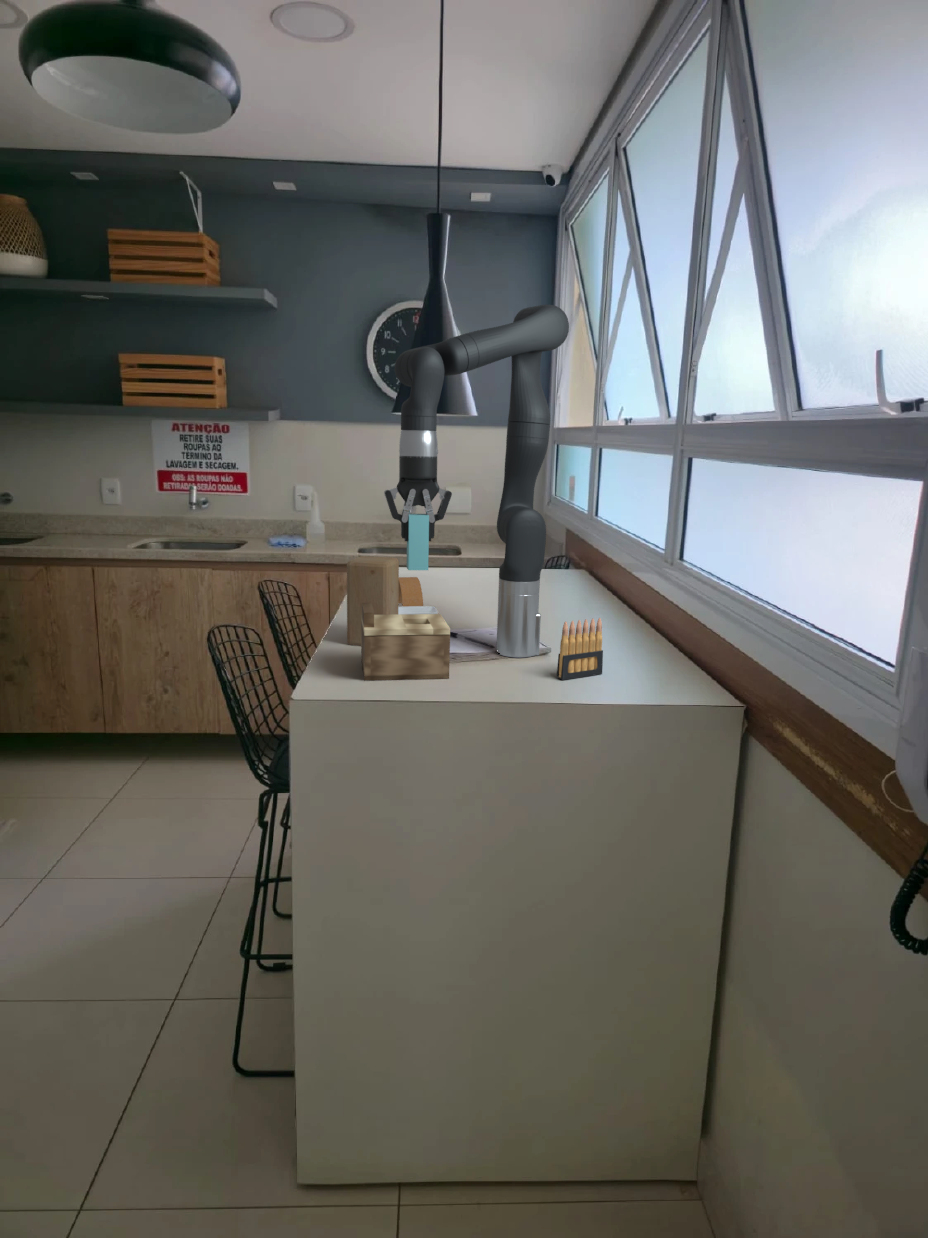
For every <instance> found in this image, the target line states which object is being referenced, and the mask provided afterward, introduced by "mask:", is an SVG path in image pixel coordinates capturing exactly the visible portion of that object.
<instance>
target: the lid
mask: <svg viewBox="0 0 928 1238" xmlns="http://www.w3.org/2000/svg"><path fill="white" fill-rule="evenodd" d="M361 621H362V626H363V631H364V636H378V635H445V634H450V635H451V627H450V626H449V625H448V623H447V622H446V620H445V618H444V617H443V615H442V614H441V613H439V614H393V615H374V610H373V607H372V603H362V615H361Z"/></svg>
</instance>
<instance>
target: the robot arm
mask: <svg viewBox="0 0 928 1238" xmlns="http://www.w3.org/2000/svg"><path fill="white" fill-rule="evenodd" d="M569 330H570V322H569V319H568V316H567V314H566V313H565V311H564V310H563V309H562V308H561V307H559V306H557V305H554V304H542V305H536V306H535V305H534V306H529V307H525V308H522V309H521V310H520V311H518V312H517V314H516V315H515V316H514V317H513V322H511V323H507V324H503V325H499V326H494V327H489V328H484V329H483V328H482V329H478V330H474V331H470V332H467V333H463V334H460V335H456V336H453V337H450V338H447V339H445V340H443V341H439V342H437V343H433V344H427V345H422V346H419V347H414V348H410V349H407V350H405V351H403V352H402V353H401V354H400V355H399V356H398V357H397V358H396V360H395V362H394V363H395V364H394V373H395V377H396V378H397V379H398V381H399V382H400V383H401V384H402V385H404V386H407V387H410V393H409V397H408V398H407V399H406V400H404V401H403V402H402V404H401V409H400V437H399V444H398V445H399V449H398V452H399V455H398V457H399V458H398V459H399V463H398V464H399V466H398V467H399V470H398V472H399V474H398V483H397V485H396V486H395V487H394V488H390V489H385V490H384V492H383V494H384V497H385V501H386V503H387V506H388V508H389V509H388V510H389V511H390V515H391V516H392V517H391V518H392V519H394V520H397V521H400V536H401V539H404V542H407V541H408V517H409V514H411V510H412V508H413V507H417V506H421V507H424V510H425V514H427V515H429V542H432V539H434V538H435V524H436V522H437V521H440V520H443V519H444V518H445V515H446V512H447V509H448V506H449V504H450V501H451V498H452V495H453V493H452V492H451V491H450V490H446V489H443V488H440V486H439V482H438V454H439V449H438V448H439V447H438V437H437V436H438V434H437V420H438V419H437V418H438V415H437V410H438V406H439V404H440V398H441V393H442V389H443V385H444V380H445V377H449V376H455V375H461V374H464V373H467V372H471V371H473V370H476V369H479V368H482V367H484V366H487V365H490V364H493V363H496V362H498V361H501V360H504V359H506V358H510V357H511V379H510V380H511V381H510V395H509V409H508V415H507V416H508V418H507V427H506V429H507V430H506V440H505V441H506V442H505V443H506V444H505V445H506V446H505V456H504V457H505V458H504V471H503V472H504V476H503V477H504V478H503V488H502V492H501V493H502V494H501V498H500V504H499V509H498V513H497V520H496V532H497V535H498V536H499V539H500V540H501V541H502V542H503V543H504V544H505V549H504V559H503V562H502V564H500V566H499V570H498V592H497V593H498V594H497V596H498V597H497V598H498V599H497V620H496V621H497V624H496V628H497V629H496V643H495V644H496V647H495V648H496V649H497V650H498V652H499V653H500V654H499V655H500V656H504V657H509V658H530V657H533V656H539V655H540V641H541V624H542V623H541V620H542V619H541V618H542V615H541V613H540V612H539V607H540V585H541V584H540V581H541V572H542V570H543V567H544V563H545V552H546V541H547V526H546V520H545V518H544V517H543V515H542V514H541V512H539V511H538V510H535V509H534V501H535V500H534V497H535V496H534V495H535V487H536V482H537V479H538V475H539V473H540V471H541V468H542V465H543V463H544V460H545V457H546V455H547V451H548V446H549V442H550V441H549V439H550V429H551V411H550V407H549V404H548V401H547V398H546V395H545V392H544V390H543V386H542V382H541V376H540V375H541V360H542V353H543V352H549V351H553V350H556V349H558V348H559V347H561V346H562V345H563V344H564V343H565V342H566V340H567V337H568V336H569ZM397 493H398V494H399V495H400V497H401V499H403V501H404V503H403V508H402V511H401V513H399V512H398V510H397V509H398V508H397V506H396V503H395V500H396V499H397ZM438 494H439V500H441V501H440V503H439V506H438V509H437V512H436V513H435V514H434V509H433V504H432V502H433V500H434V499H435V497H436V496H437V495H438Z"/></svg>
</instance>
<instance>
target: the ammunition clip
mask: <svg viewBox="0 0 928 1238" xmlns="http://www.w3.org/2000/svg"><path fill="white" fill-rule="evenodd" d="M602 623H603V622H602V619H601V617H598V620H597V622H595V619H594V618H592V619H591V620H590V624H589V623H588V619H587V618H586V619H584V622H583V625H582V622H581V620H580V619H578V621H577V623H576V626H575V621H574V620H572V621H571V622H570V625H569V627H568V623H567V621H564V623H563V627H562V632H561V633H562V634H561V639H560V647H559V653H558V654H557V655H558V659H557V669H556V678H557V679H560V680H562V681H565V680H571V679H577V678H584V677H591V676H597V675H603V662H604V661H603V660H604V659H603V657H604V650H603V624H602Z"/></svg>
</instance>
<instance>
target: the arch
mask: <svg viewBox="0 0 928 1238" xmlns="http://www.w3.org/2000/svg"><path fill="white" fill-rule="evenodd" d="M420 581H421V580H420V579H419V577H417V576H406V577H405V576H403V577H401V576H399V595H398V604H402V607H405V606H424V597H423V591H422V585H421V582H420Z"/></svg>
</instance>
